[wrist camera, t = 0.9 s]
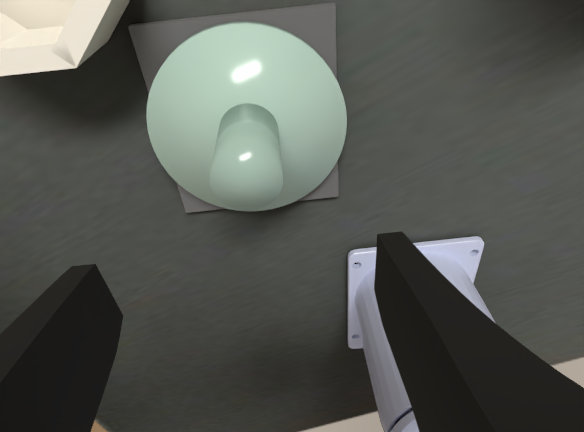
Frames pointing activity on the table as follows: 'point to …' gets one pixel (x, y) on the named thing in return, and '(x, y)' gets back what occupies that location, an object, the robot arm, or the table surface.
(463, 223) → the table surface
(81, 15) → the bowl
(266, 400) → the table surface
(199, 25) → the mat
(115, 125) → the table surface
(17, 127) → the table surface
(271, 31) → the lid
